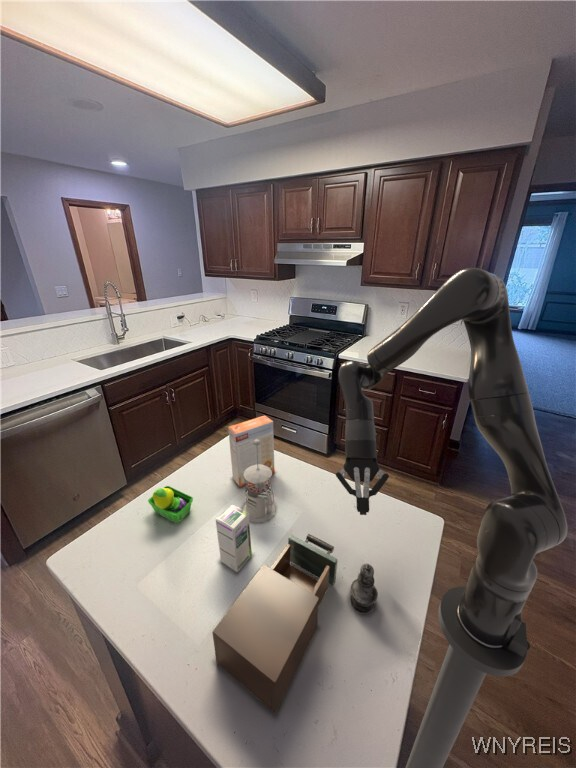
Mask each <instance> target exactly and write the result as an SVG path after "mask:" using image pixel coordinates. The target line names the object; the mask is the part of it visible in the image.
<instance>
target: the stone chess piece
mask: <svg viewBox="0 0 576 768" xmlns="http://www.w3.org/2000/svg"><path fill="white" fill-rule="evenodd" d="M374 576H375V568H374V566H372V565H371V564H369V563H363V564H362V565H361V566H360V570H359V573H358V574H357V578H356V579H355V580H353V581H352V582H351V584H350V594H351V595H350V603H351V606H352V609H354V610H355V611H356V612H357V613H360V614H363V615H367V614H370V613H372V612H373V611H374V608H375V603H376V602H377V600H378V595H379V592H378V589H377V587H376V585H375V577H374Z"/></svg>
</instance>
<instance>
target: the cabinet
mask: <svg viewBox="0 0 576 768" xmlns="http://www.w3.org/2000/svg"><path fill="white" fill-rule="evenodd" d="M319 608H320V605H319V597H317V596H315V595H314V594H312V593H310V592H309V591H307V590H305V589H304V588H302V587H301V586H299V585H297V584H296V583H294V582H292V581H291V580H289V579H287V578H286V577H284V576H282V575H281V574H279V573H277V572H276V571H274V570H273V569H271V567H270V566H267V565H266V564H264V563H263V564H262V565H261V566H260V568H259V569H258V570H257V572H256V573H255V574H254V576H253V577H252V579H251V580H250V581H249V582H248V584H247V585H246V587H245V588H244V589H243V591H242V592H241V593H240V594H239V595H238V597H237V598H236V599H235V601H234V602H233V604H232V605H231V607H230V608H229V609H228V610H227V611H226V613H225V614H224V616H223V617H222V618H221V619H220V621H219V622H218V623H217V625H216V626H215V628H213V630H212V639H213V646H214V647H213V648H214V654H215V662H216V663H217V665H219V666H220V667H221V668H222V669H223V670H224V671H226V673H228V674H229V675H230V676H231V677H233V678H234V680H236V681H237V682H238V683H239V684H240V685H242V686H243V687H244V688H245V689H246V690H248V692H250V693H251V694H252V695H253V697H255V698H256V699H257V700H259V701H260V702H261V703H262V704H263V705H264V706H265V707H267V708H268V709H269V710H270V711H271V712H273V714H275V715H276V714H277V712H278V710H279V708H280V706H281V703H282V701H283V699H284V697H285V695H286V693H287V691H288V689H289V687H290V685H291V682H292V681H293V679H294V676H295V674H296V673H297V671H298V669H299V666H300V664H301V662H302V660H303V658H304V656H305V654H306V652H307V649H308V648H309V646H310V644H311V642H312V639H313V637H314V635H315V633H316V631H317V629H318V621H319Z"/></svg>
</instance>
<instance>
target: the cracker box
mask: <svg viewBox="0 0 576 768" xmlns="http://www.w3.org/2000/svg"><path fill="white" fill-rule="evenodd" d="M227 430H228V442H229V451H230V461H231V474H232V479H233V481H234V482H235V483H236V485H237V486H238V487H239V488H242V487H244V486H246V483H247V482H248V481H247V480H246V479H245V477H244V472H245V470H246V469H247V468H248V467H250V466H253V465H257V446H258V464H261V465H265V466H267V467H269V468H270V469H271V471H272V474H273V473H275V437H274V435H275V433H274V421H273V419H271V418H269V417H268V416H267V415H265V414H264V415H262V416H261V415H260V416H258V417H254V418H252V419H249V420H245V421H243V422H239V423H237V424H233V425H230V426H227ZM256 439H257V440H260V442H261V443H260V445H254V440H256Z"/></svg>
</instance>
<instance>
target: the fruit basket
mask: <svg viewBox="0 0 576 768" xmlns="http://www.w3.org/2000/svg"><path fill="white" fill-rule="evenodd" d="M193 501H194V497H193V496H191V495H189V494H186V493H185V492H182V491H180V490H178V489H176V488H174V487H173V486H171V485H170V486H169V485H166V486H164V487H161V488H157V489H155V490H154V492H153V493H152V496H150V497H149V498H148V500H147V503H148V504H149V505H150V506H151V507H152V509H153V510H154V512H155V513H156V514H157V515H160V516H162V517H163V518H166V519H167V520H168V521H172V522H173V523H175V524H179V523H180V521H182V520H183V519H184V518H185V517H186V516H187V515H188V514H190V512H191V508H192V503H193Z"/></svg>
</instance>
